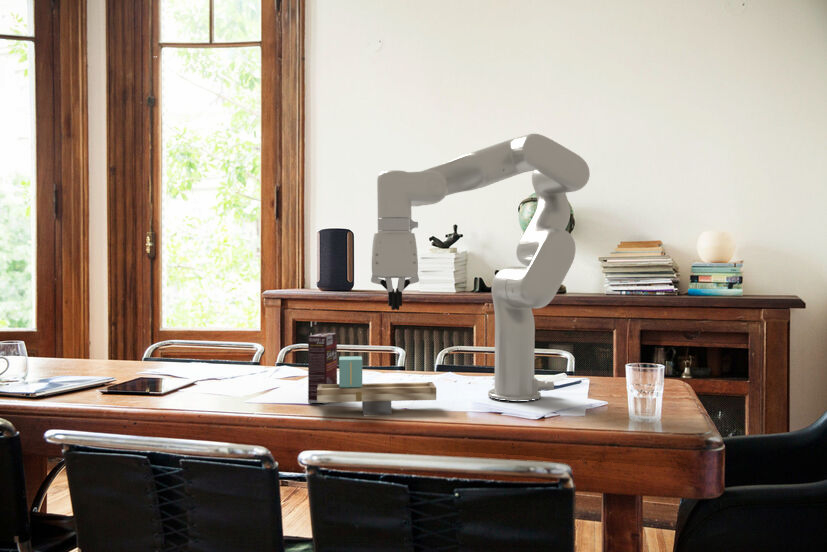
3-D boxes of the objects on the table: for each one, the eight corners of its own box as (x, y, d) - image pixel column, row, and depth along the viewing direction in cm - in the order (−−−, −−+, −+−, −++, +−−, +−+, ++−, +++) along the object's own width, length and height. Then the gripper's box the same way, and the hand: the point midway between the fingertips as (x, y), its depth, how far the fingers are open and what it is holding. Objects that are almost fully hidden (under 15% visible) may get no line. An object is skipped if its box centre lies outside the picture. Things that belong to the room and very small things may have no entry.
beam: (431, 405, 162) (431, 381, 162) (436, 414, 153) (437, 388, 153) (318, 408, 159) (318, 383, 159) (317, 417, 150) (316, 390, 150)
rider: (361, 388, 158) (361, 356, 158) (362, 393, 153) (362, 359, 153) (339, 389, 157) (339, 356, 157) (339, 393, 152) (339, 360, 152)
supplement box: (327, 404, 163) (326, 336, 163) (307, 403, 164) (306, 336, 163) (338, 397, 171) (337, 332, 171) (319, 396, 172) (318, 332, 172)
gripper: (425, 227, 160) (426, 307, 160) (360, 227, 158) (361, 308, 159) (430, 226, 152) (430, 310, 153) (361, 226, 151) (362, 311, 151)
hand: (395, 309), depth 156 cm, fingers closed
